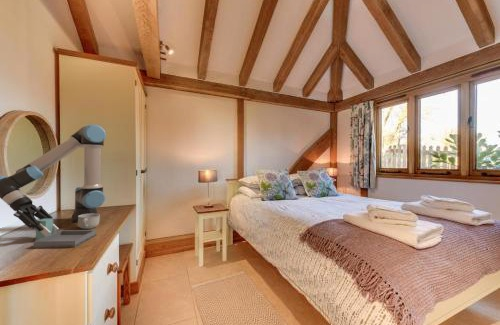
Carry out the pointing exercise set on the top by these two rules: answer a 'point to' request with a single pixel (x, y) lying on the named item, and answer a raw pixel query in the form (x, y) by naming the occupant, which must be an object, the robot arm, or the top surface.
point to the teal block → (48, 224)
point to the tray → (65, 239)
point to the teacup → (88, 221)
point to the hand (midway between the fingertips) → (52, 232)
